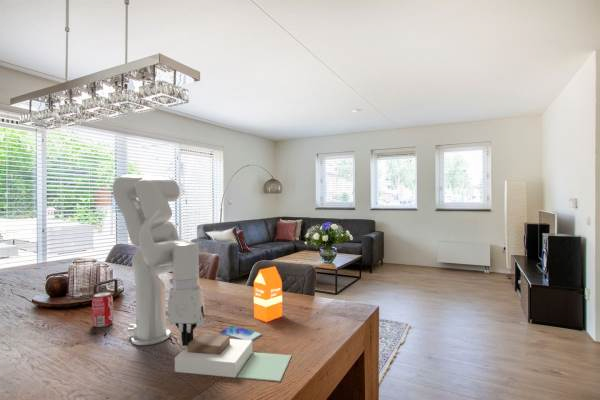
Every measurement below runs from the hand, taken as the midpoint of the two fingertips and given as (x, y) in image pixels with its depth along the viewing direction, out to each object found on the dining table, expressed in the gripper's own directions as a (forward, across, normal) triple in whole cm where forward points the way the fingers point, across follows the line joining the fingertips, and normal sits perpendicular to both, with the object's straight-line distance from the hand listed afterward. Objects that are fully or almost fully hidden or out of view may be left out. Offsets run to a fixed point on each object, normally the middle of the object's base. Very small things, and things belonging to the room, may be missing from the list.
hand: (187, 343), depth 98 cm
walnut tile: (+1, +7, 0) cm, 7 cm away
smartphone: (+5, +9, +20) cm, 23 cm away
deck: (+5, +9, 0) cm, 10 cm away
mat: (+5, +24, 0) cm, 25 cm away
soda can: (+4, -48, +20) cm, 52 cm away
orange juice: (+5, +14, +38) cm, 41 cm away
